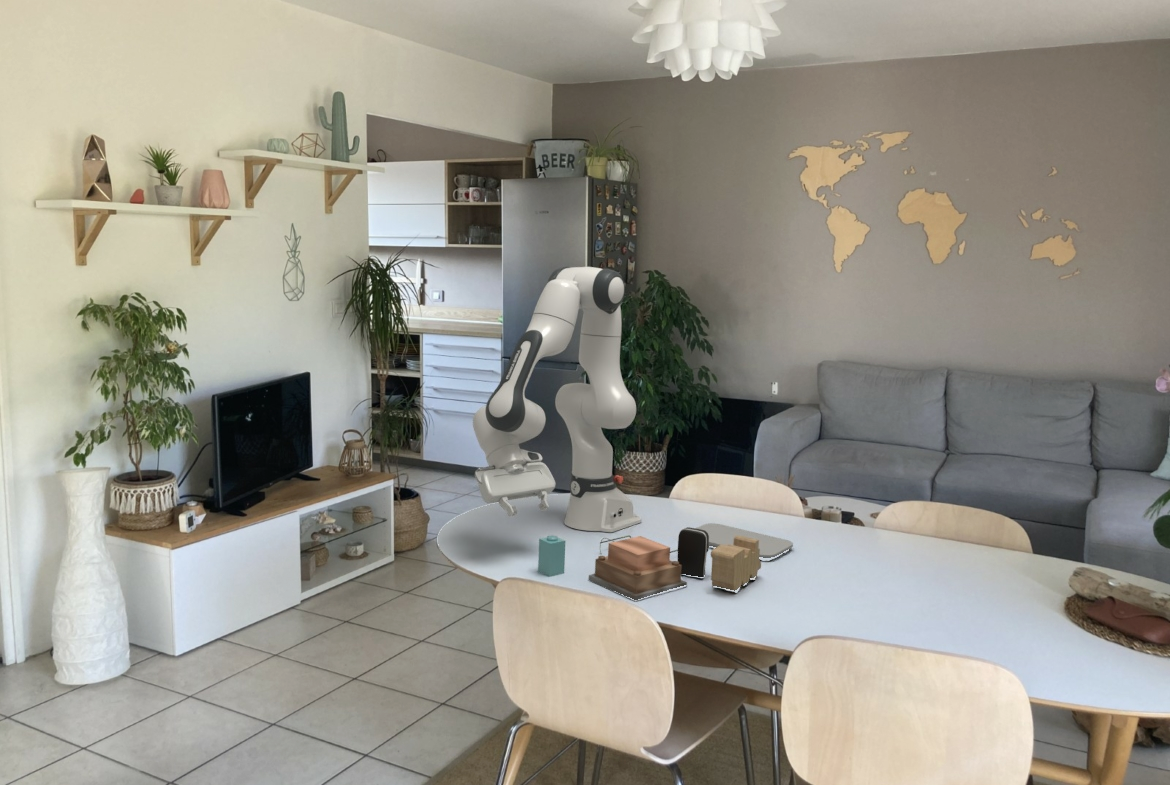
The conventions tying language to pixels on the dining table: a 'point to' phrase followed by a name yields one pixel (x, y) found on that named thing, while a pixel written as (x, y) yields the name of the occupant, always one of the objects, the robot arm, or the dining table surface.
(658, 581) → the wooden stepped box
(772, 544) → the tablet
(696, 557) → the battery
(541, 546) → the teal brick
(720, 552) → the toy train
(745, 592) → the dining table surface
